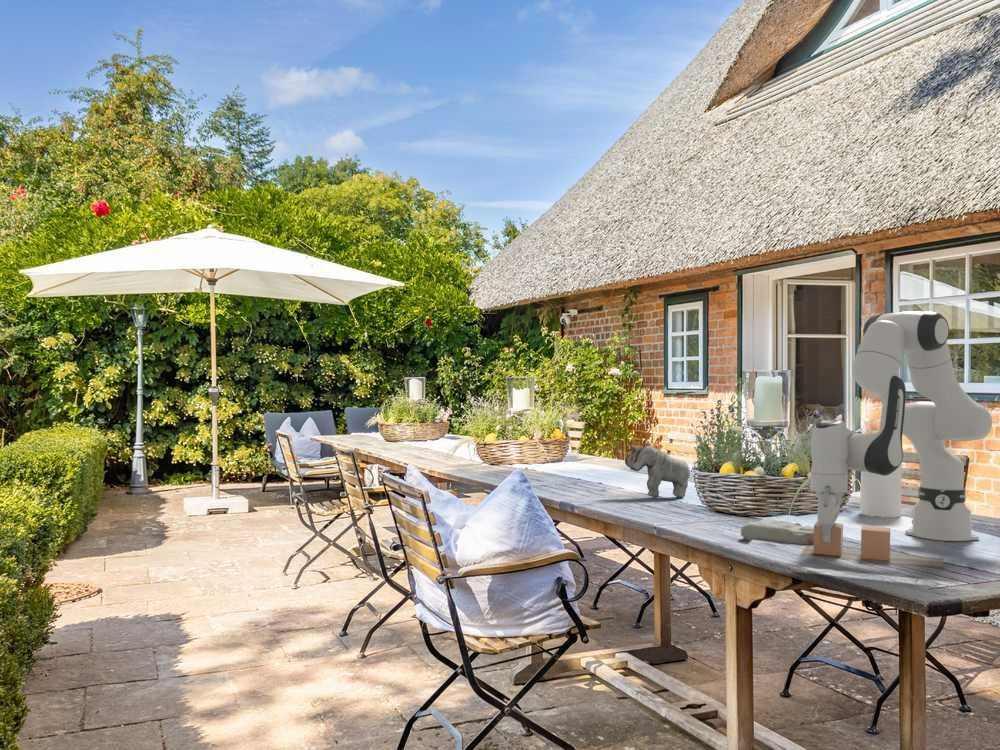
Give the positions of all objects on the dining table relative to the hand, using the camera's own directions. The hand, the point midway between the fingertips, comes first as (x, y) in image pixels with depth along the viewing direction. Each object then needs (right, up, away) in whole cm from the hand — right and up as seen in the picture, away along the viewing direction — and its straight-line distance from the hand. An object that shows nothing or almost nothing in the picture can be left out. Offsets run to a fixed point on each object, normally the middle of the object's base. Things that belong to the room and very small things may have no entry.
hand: (828, 539), depth 217 cm
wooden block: (+10, -4, -5) cm, 12 cm away
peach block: (0, -3, 0) cm, 3 cm away
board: (+9, -5, -4) cm, 11 cm away
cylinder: (+45, -6, +72) cm, 85 cm away
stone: (-6, -5, +21) cm, 22 cm away
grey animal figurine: (-24, -5, +106) cm, 108 cm away
